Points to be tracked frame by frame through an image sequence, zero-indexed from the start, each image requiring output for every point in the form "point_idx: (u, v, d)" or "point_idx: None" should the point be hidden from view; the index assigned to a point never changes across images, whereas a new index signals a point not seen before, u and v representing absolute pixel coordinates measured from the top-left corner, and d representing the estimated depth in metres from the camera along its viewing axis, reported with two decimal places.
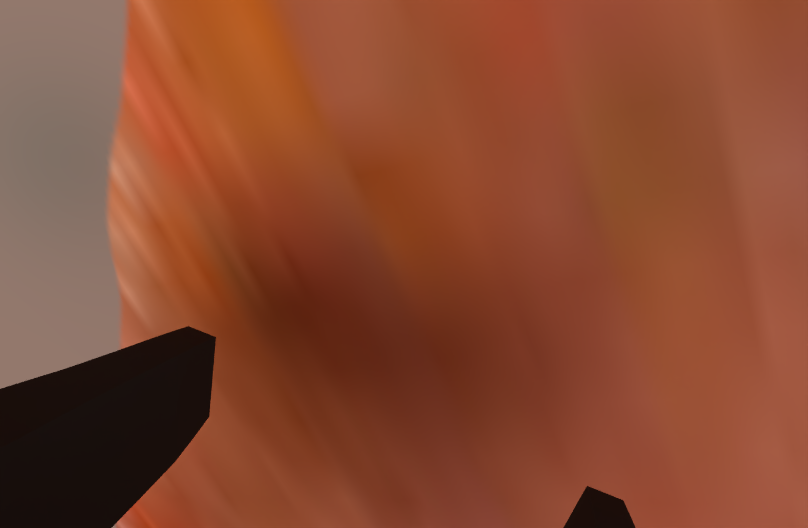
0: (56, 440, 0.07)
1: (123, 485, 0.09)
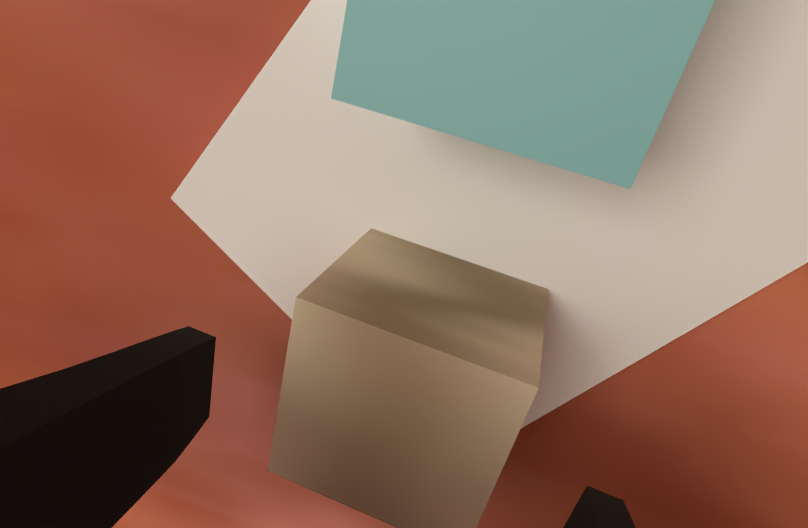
0: (56, 440, 0.07)
1: (123, 485, 0.09)
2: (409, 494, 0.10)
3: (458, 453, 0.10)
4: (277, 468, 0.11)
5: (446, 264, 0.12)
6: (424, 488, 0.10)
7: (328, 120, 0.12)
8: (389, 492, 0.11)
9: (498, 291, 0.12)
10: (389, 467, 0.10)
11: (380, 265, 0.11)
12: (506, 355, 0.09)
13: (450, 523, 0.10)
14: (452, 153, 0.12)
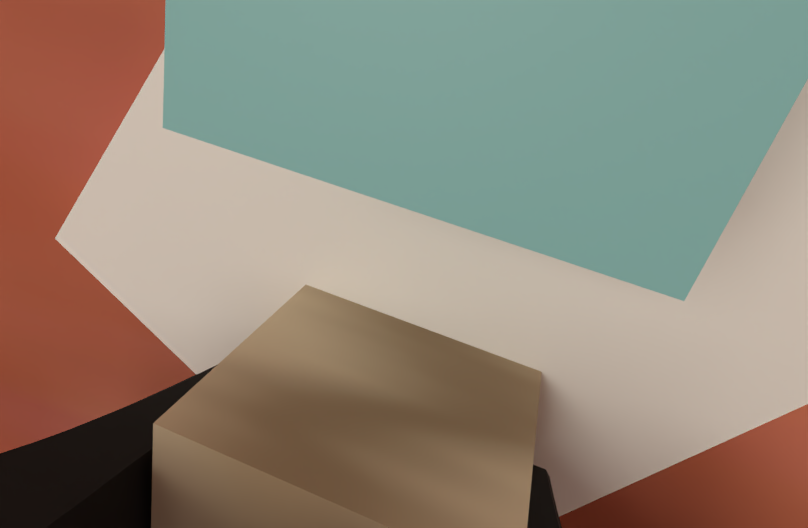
0: (140, 478, 0.07)
1: None
2: None
3: None
4: None
5: (401, 338, 0.09)
6: None
7: None
8: None
9: (472, 383, 0.08)
10: None
11: (305, 348, 0.08)
12: (472, 515, 0.06)
13: None
14: None
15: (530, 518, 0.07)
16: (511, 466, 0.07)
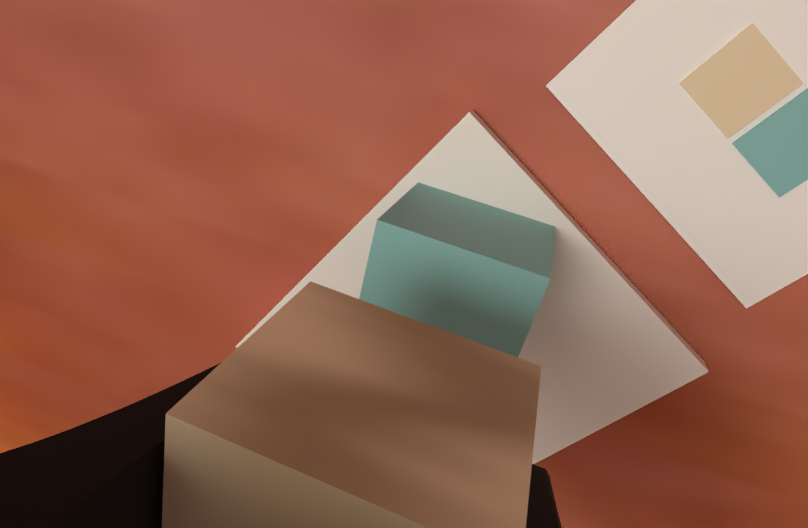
0: (139, 479, 0.07)
1: None
2: None
3: None
4: None
5: (405, 334, 0.09)
6: None
7: None
8: None
9: (474, 376, 0.08)
10: None
11: (311, 343, 0.08)
12: (474, 502, 0.06)
13: None
14: None
15: (530, 518, 0.07)
16: (511, 456, 0.07)
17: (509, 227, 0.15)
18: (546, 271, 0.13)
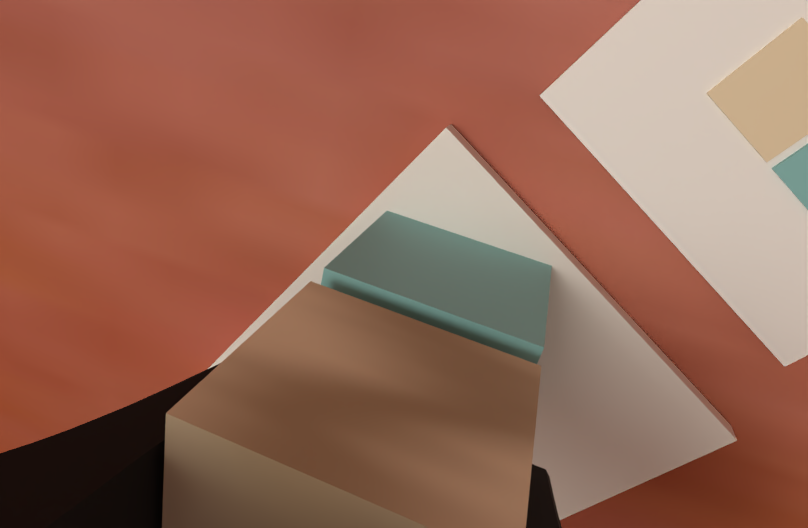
0: (139, 478, 0.07)
1: None
2: None
3: None
4: None
5: (405, 333, 0.09)
6: None
7: None
8: None
9: (474, 376, 0.08)
10: None
11: (310, 343, 0.08)
12: (474, 501, 0.06)
13: None
14: None
15: (530, 518, 0.07)
16: (511, 456, 0.07)
17: (494, 270, 0.12)
18: (539, 336, 0.10)
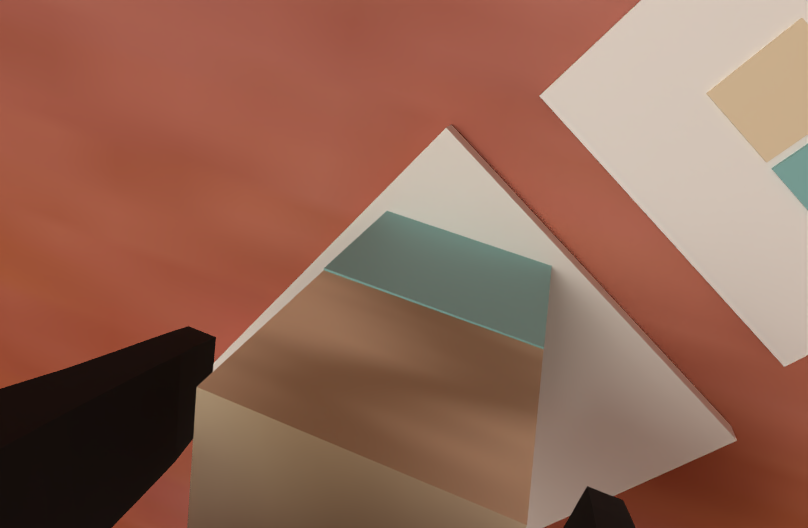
0: (56, 440, 0.07)
1: (123, 485, 0.09)
2: None
3: None
4: None
5: (414, 318, 0.10)
6: None
7: None
8: None
9: (480, 358, 0.09)
10: None
11: (326, 326, 0.09)
12: (482, 467, 0.07)
13: None
14: None
15: None
16: (516, 428, 0.08)
17: (494, 269, 0.12)
18: (538, 336, 0.10)
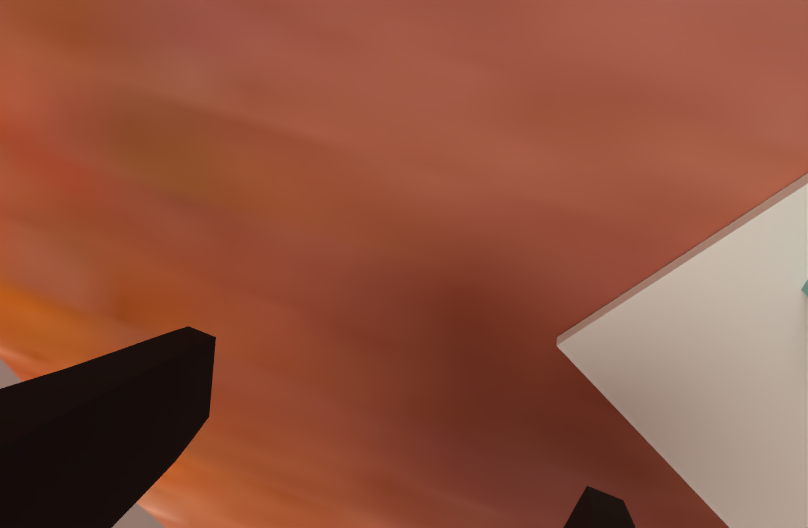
0: (57, 439, 0.07)
1: (123, 485, 0.09)
2: None
3: None
4: None
5: None
6: None
7: (723, 307, 0.16)
8: None
9: None
10: None
11: None
12: None
13: None
14: None
15: None
16: None
17: None
18: None
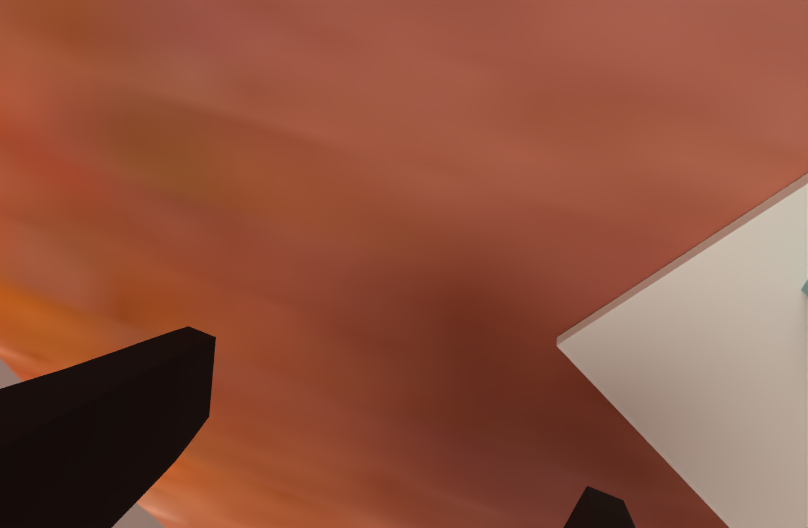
0: (57, 439, 0.07)
1: (123, 485, 0.09)
2: None
3: None
4: None
5: None
6: None
7: (723, 307, 0.16)
8: None
9: None
10: None
11: None
12: None
13: None
14: None
15: None
16: None
17: None
18: None
